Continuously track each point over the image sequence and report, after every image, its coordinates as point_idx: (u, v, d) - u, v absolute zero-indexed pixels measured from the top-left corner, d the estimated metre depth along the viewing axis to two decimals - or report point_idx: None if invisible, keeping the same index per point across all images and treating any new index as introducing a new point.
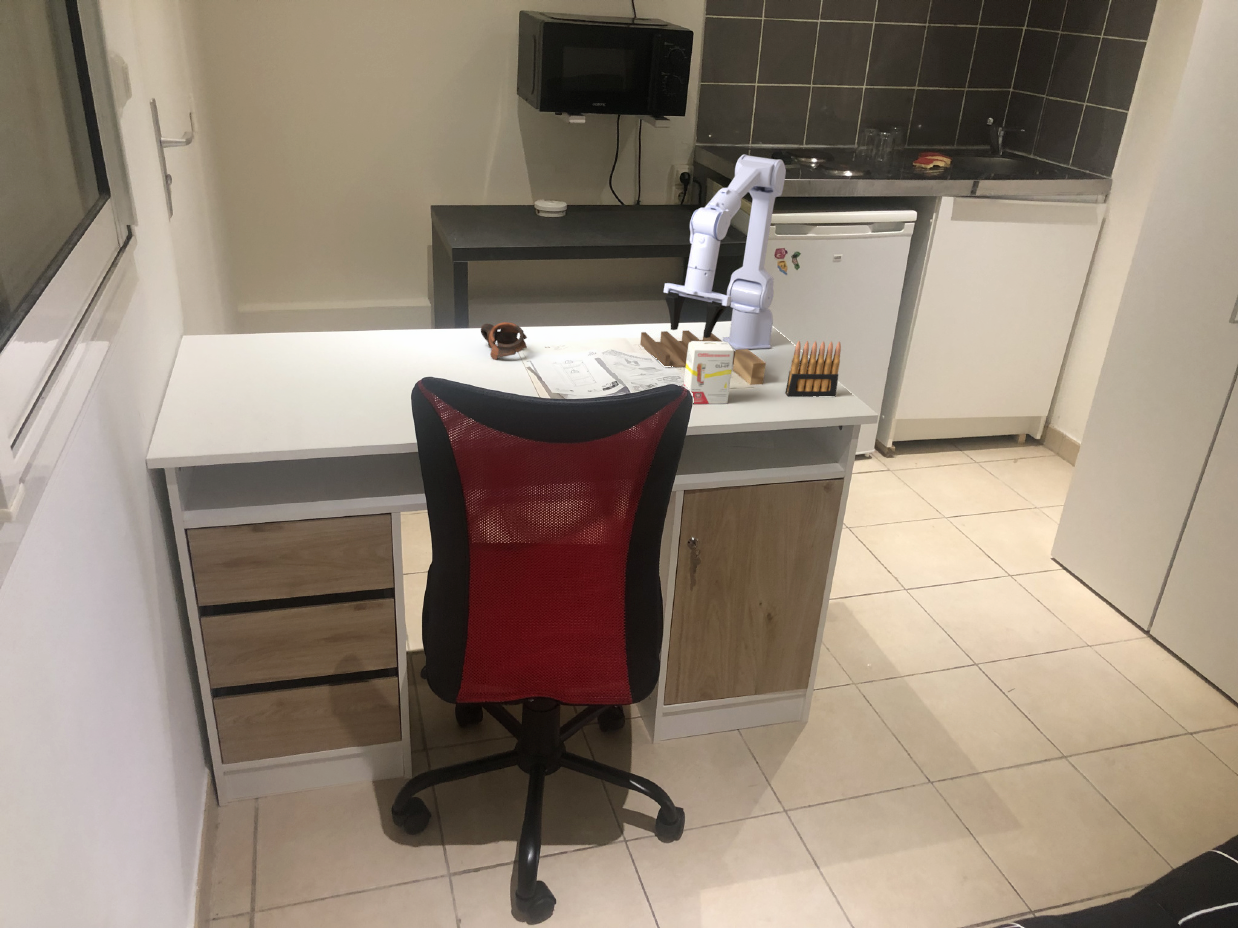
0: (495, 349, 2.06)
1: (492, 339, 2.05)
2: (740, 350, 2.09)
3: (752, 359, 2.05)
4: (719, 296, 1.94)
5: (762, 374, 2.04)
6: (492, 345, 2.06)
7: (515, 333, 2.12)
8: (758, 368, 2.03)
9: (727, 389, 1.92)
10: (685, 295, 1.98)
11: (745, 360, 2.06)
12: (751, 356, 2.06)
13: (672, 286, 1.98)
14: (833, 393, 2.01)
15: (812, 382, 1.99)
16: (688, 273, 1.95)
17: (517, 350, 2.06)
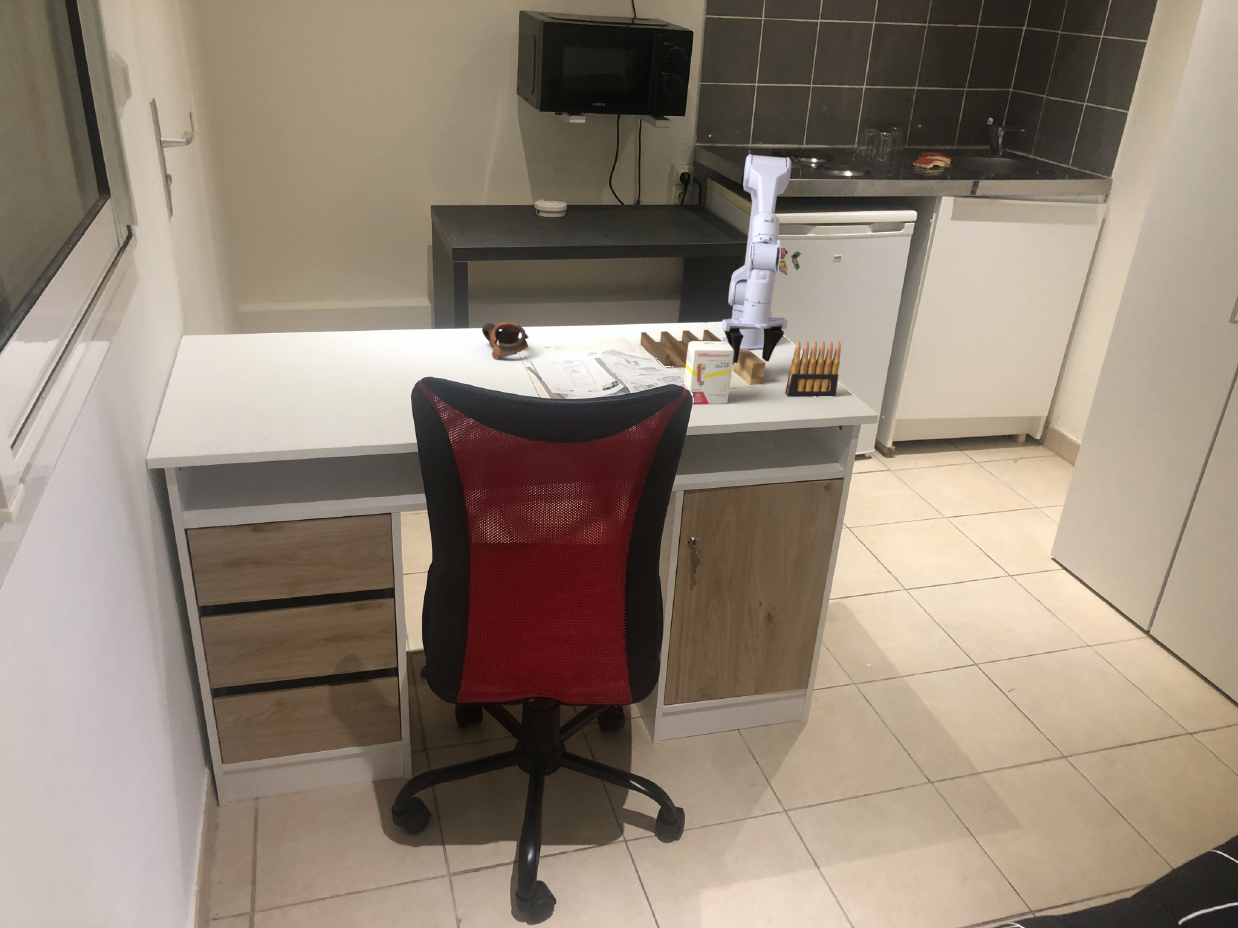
0: (497, 349, 2.06)
1: (494, 339, 2.06)
2: (740, 350, 2.09)
3: (752, 359, 2.05)
4: (780, 322, 2.04)
5: (762, 374, 2.04)
6: (494, 345, 2.06)
7: (516, 333, 2.12)
8: (758, 368, 2.03)
9: (727, 389, 1.92)
10: (744, 328, 2.02)
11: (744, 360, 2.06)
12: (751, 356, 2.06)
13: (735, 323, 2.00)
14: (833, 393, 2.01)
15: (812, 382, 1.99)
16: (754, 308, 1.99)
17: (519, 350, 2.06)
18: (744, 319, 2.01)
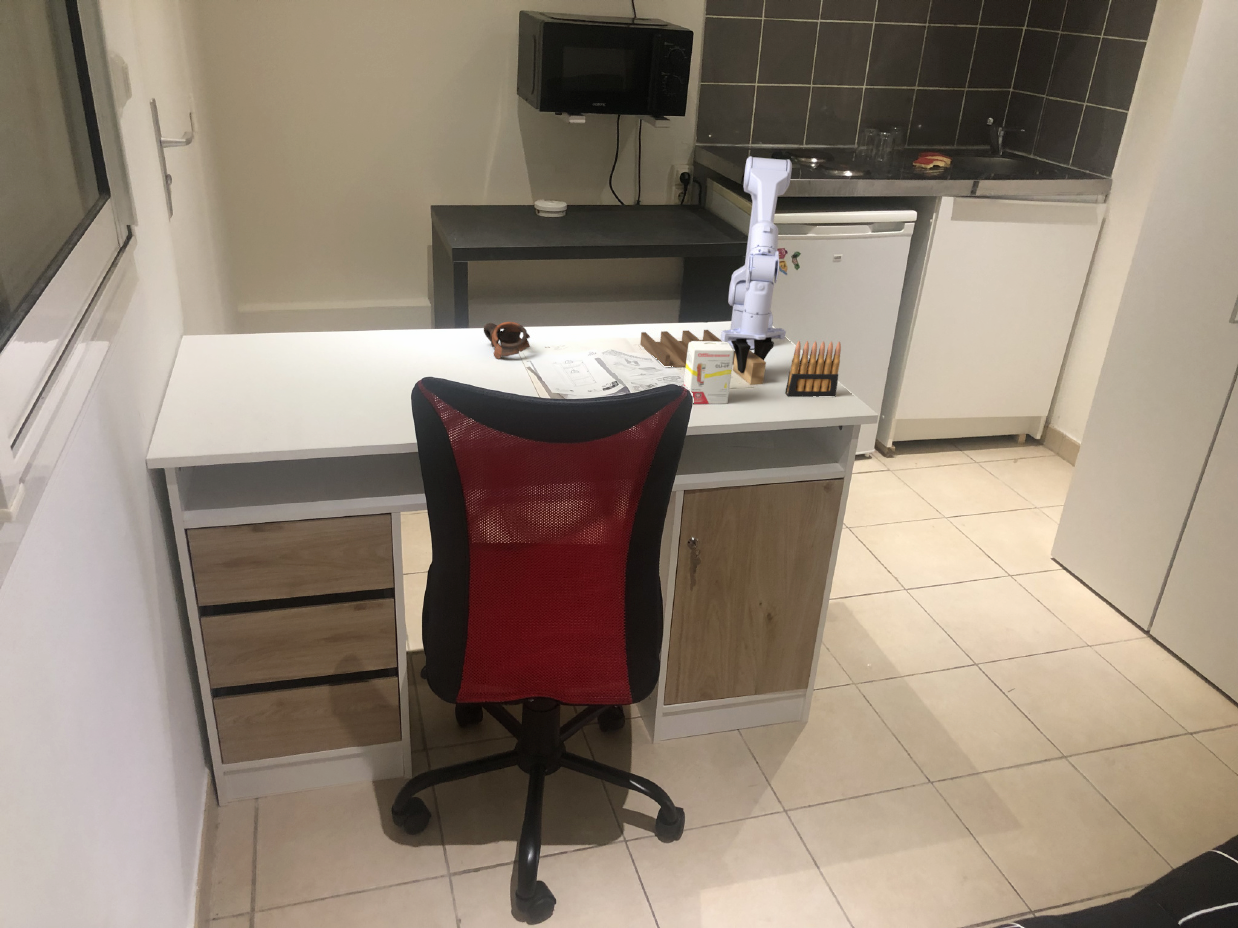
0: (498, 348, 2.06)
1: (495, 338, 2.06)
2: None
3: (752, 358, 2.05)
4: (779, 332, 2.05)
5: (762, 373, 2.04)
6: (495, 344, 2.07)
7: (518, 332, 2.13)
8: (758, 368, 2.03)
9: (727, 389, 1.92)
10: (743, 338, 2.04)
11: None
12: (751, 355, 2.06)
13: (734, 334, 2.01)
14: (833, 393, 2.01)
15: (812, 382, 1.99)
16: (752, 320, 2.00)
17: (520, 349, 2.07)
18: (743, 330, 2.03)
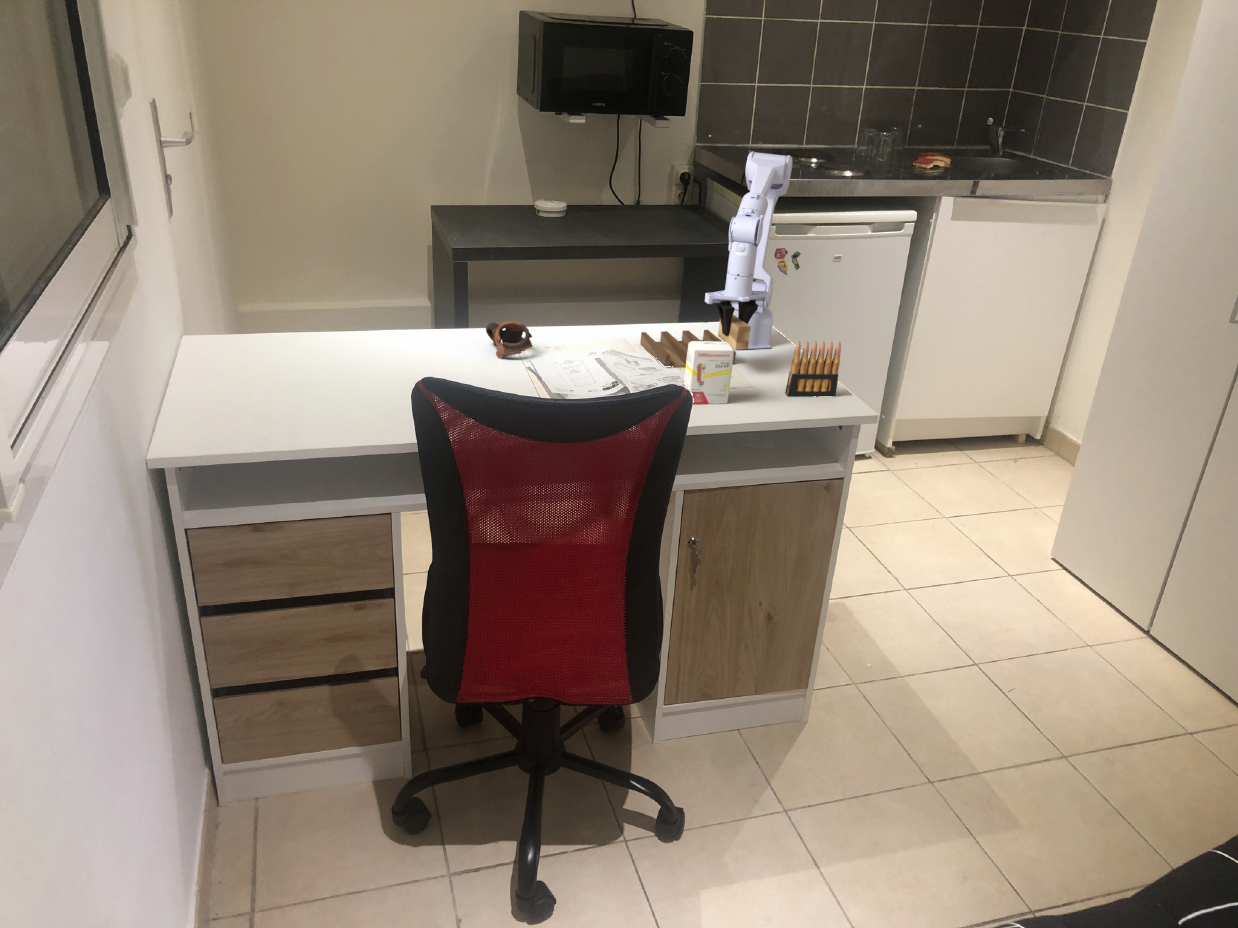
0: (501, 348, 2.07)
1: (498, 338, 2.06)
2: None
3: (737, 323, 2.05)
4: (763, 295, 2.05)
5: (747, 338, 2.04)
6: (498, 344, 2.07)
7: (520, 332, 2.13)
8: (743, 332, 2.03)
9: (727, 389, 1.92)
10: (727, 301, 2.04)
11: None
12: (736, 320, 2.07)
13: (718, 296, 2.02)
14: (833, 393, 2.01)
15: (812, 382, 1.99)
16: (736, 281, 2.01)
17: (523, 349, 2.07)
18: (727, 292, 2.03)
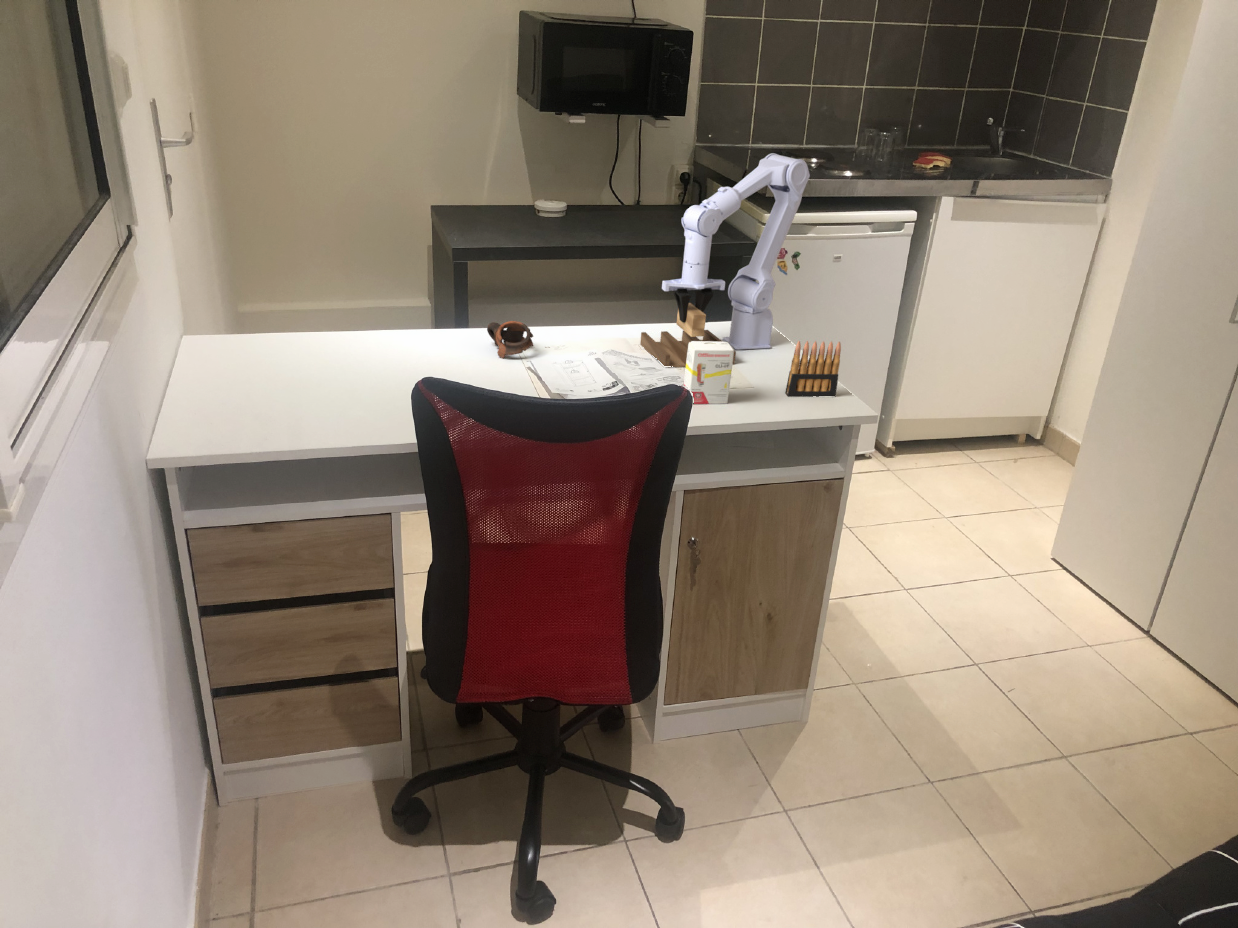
0: (502, 348, 2.07)
1: (499, 338, 2.06)
2: None
3: (693, 311, 2.13)
4: (718, 283, 2.13)
5: (703, 326, 2.12)
6: (499, 344, 2.07)
7: (521, 332, 2.13)
8: (699, 320, 2.11)
9: (727, 389, 1.92)
10: (683, 289, 2.12)
11: None
12: (693, 309, 2.14)
13: (674, 284, 2.09)
14: (833, 393, 2.01)
15: (812, 382, 1.99)
16: (692, 270, 2.08)
17: (524, 348, 2.07)
18: (683, 280, 2.11)
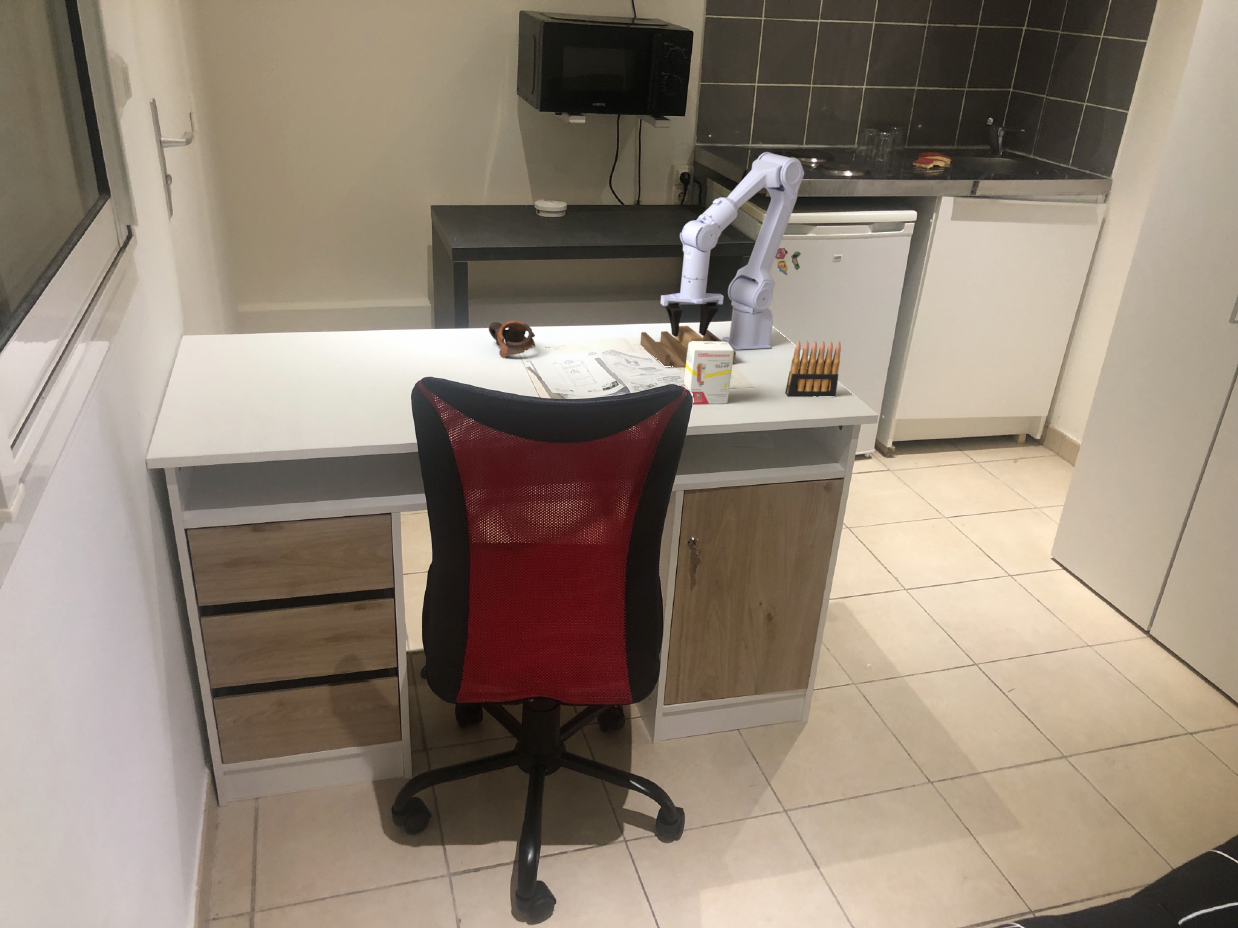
0: (504, 347, 2.07)
1: (501, 337, 2.07)
2: (680, 327, 2.20)
3: (690, 334, 2.15)
4: (717, 297, 2.14)
5: None
6: (501, 343, 2.07)
7: (523, 331, 2.14)
8: None
9: (727, 389, 1.92)
10: (682, 303, 2.13)
11: (684, 335, 2.16)
12: (690, 332, 2.17)
13: (673, 299, 2.11)
14: (833, 393, 2.01)
15: (812, 382, 1.99)
16: (690, 284, 2.10)
17: (526, 348, 2.08)
18: (681, 295, 2.12)
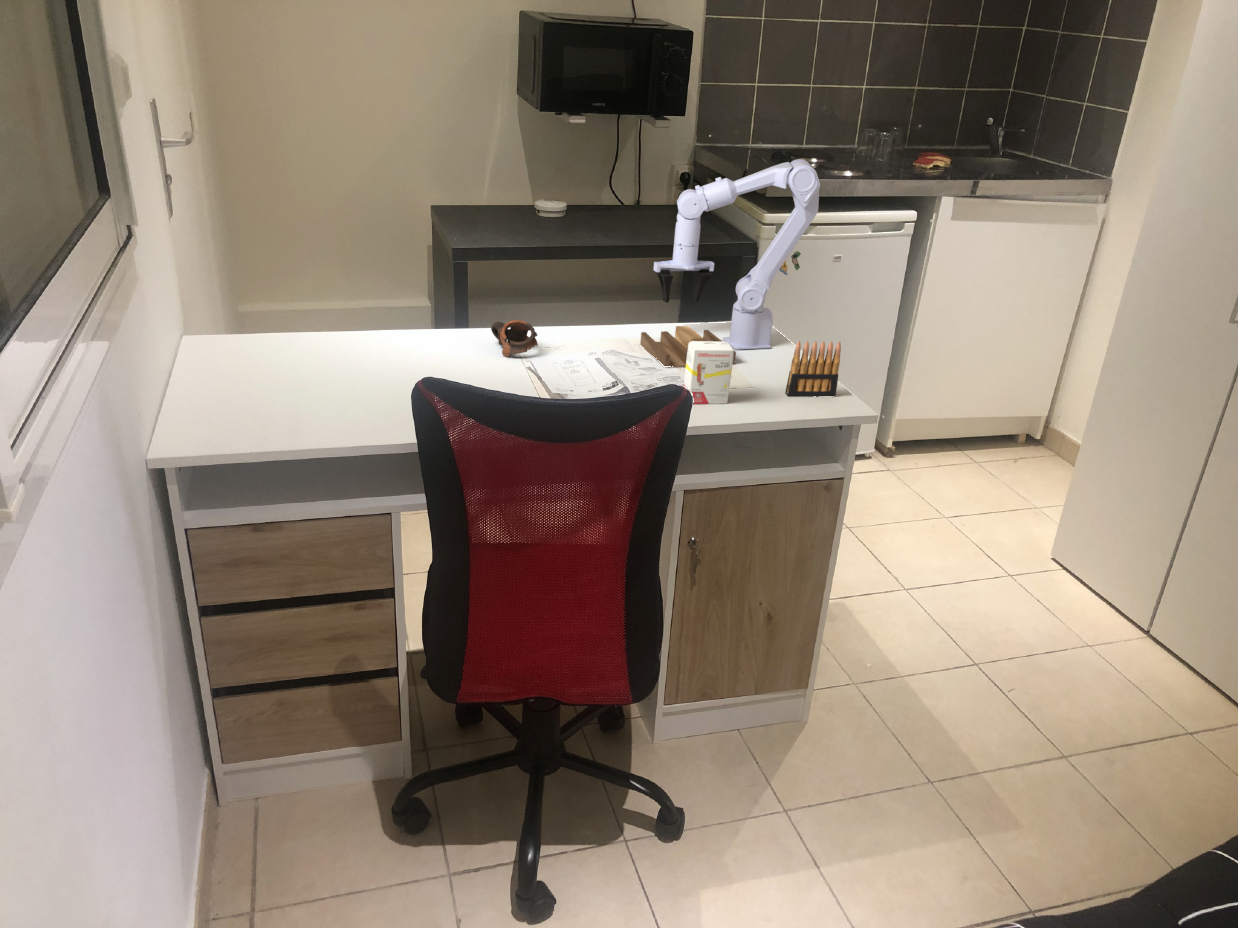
0: (507, 347, 2.08)
1: (504, 337, 2.07)
2: (680, 327, 2.20)
3: (690, 334, 2.15)
4: (708, 264, 2.22)
5: None
6: (504, 343, 2.08)
7: (525, 331, 2.14)
8: None
9: (727, 389, 1.92)
10: (674, 270, 2.21)
11: (684, 335, 2.16)
12: (690, 332, 2.17)
13: (665, 265, 2.19)
14: (833, 393, 2.01)
15: (812, 382, 1.99)
16: (682, 251, 2.17)
17: (529, 347, 2.08)
18: (674, 261, 2.20)
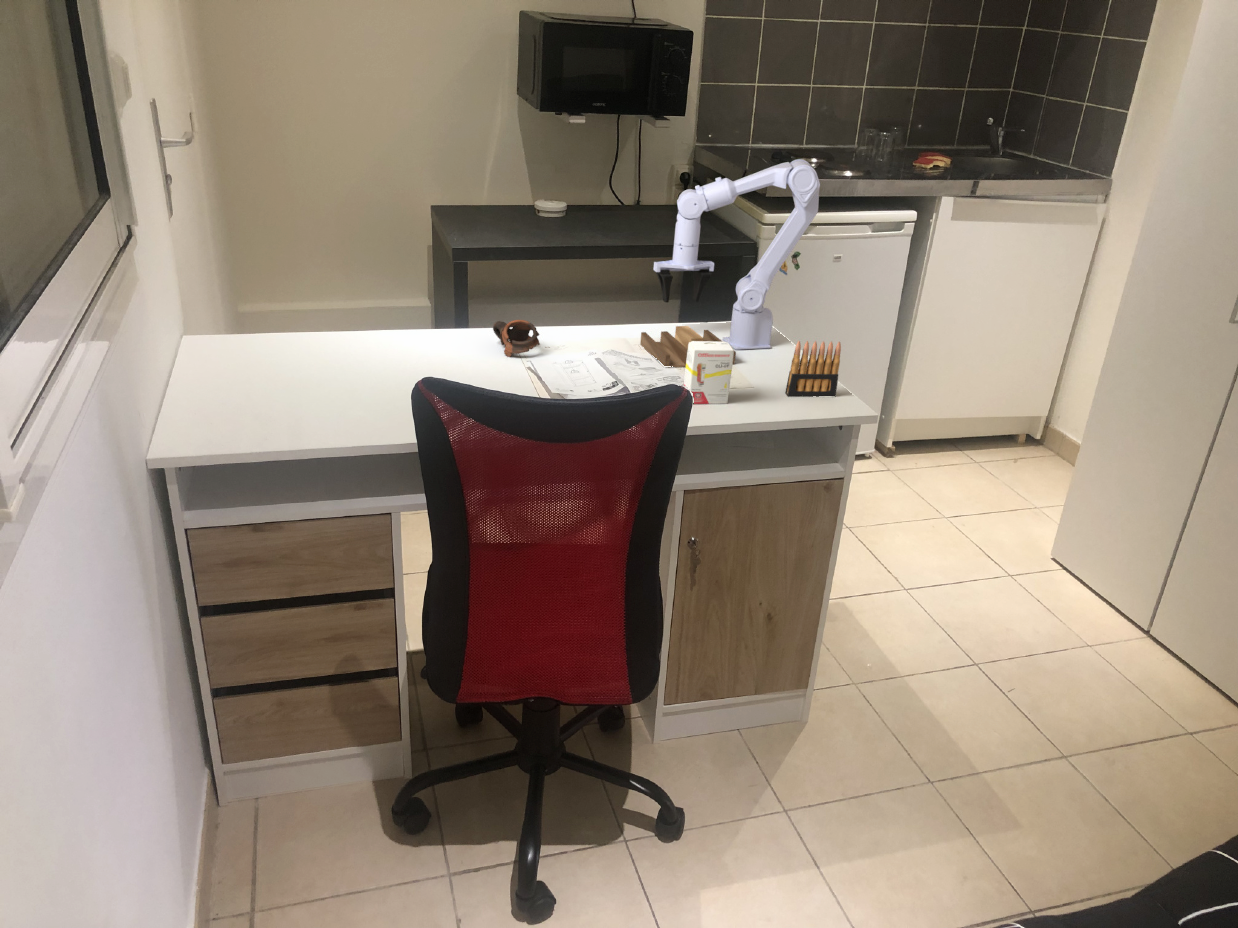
0: (509, 346, 2.08)
1: (506, 336, 2.08)
2: (680, 327, 2.20)
3: (690, 334, 2.15)
4: (708, 264, 2.22)
5: None
6: (506, 342, 2.08)
7: (527, 330, 2.15)
8: None
9: (727, 389, 1.92)
10: (674, 270, 2.21)
11: (684, 335, 2.16)
12: (690, 332, 2.17)
13: (665, 265, 2.19)
14: (833, 393, 2.01)
15: (812, 382, 1.99)
16: (682, 251, 2.18)
17: (531, 347, 2.09)
18: (674, 261, 2.20)
